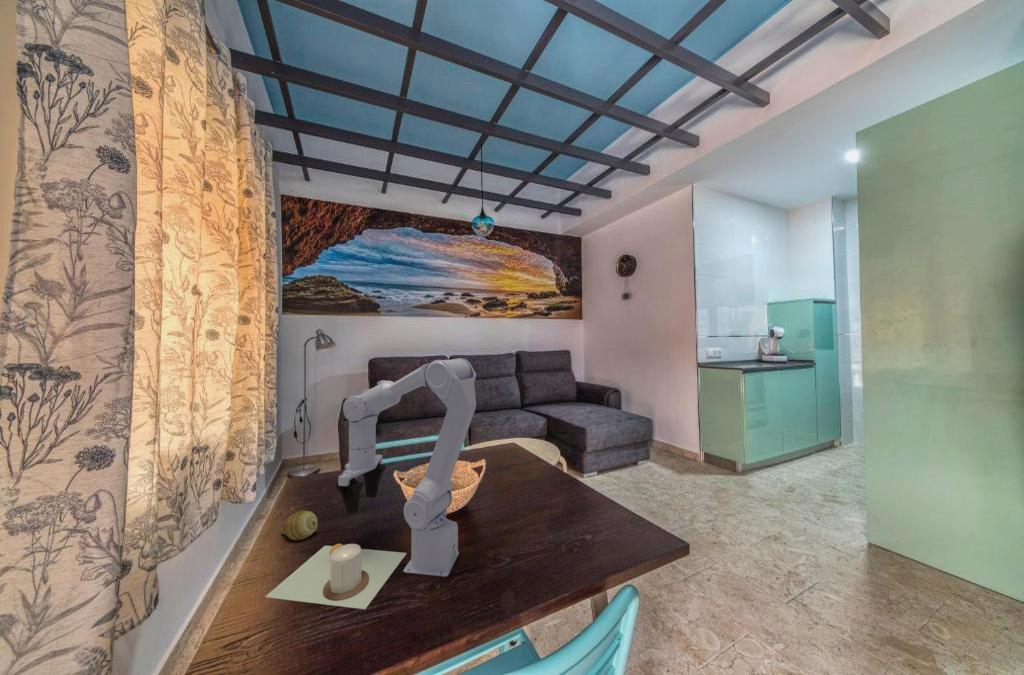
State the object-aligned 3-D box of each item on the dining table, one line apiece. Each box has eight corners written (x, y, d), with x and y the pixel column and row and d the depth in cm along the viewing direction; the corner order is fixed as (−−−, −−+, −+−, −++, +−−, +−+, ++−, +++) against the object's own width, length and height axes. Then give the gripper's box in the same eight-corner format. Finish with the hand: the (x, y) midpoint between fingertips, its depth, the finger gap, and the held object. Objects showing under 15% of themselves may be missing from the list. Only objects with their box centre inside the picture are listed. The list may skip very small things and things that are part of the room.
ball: (348, 555, 74) (348, 541, 74) (339, 563, 71) (339, 549, 71) (335, 553, 75) (335, 540, 75) (326, 562, 72) (326, 548, 72)
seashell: (285, 551, 83) (263, 538, 78) (298, 521, 89) (278, 507, 84) (321, 546, 82) (302, 532, 78) (332, 516, 88) (315, 501, 83)
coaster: (377, 572, 69) (377, 571, 69) (352, 602, 61) (352, 601, 61) (341, 569, 70) (341, 567, 70) (312, 598, 62) (312, 596, 62)
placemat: (406, 554, 75) (406, 553, 75) (365, 611, 59) (365, 609, 59) (325, 547, 78) (325, 545, 78) (264, 599, 62) (264, 596, 62)
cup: (365, 575, 67) (366, 544, 68) (349, 594, 62) (349, 561, 62) (342, 572, 68) (342, 542, 68) (324, 591, 63) (324, 558, 63)
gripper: (364, 436, 87) (364, 489, 87) (325, 455, 73) (325, 519, 72) (390, 437, 86) (390, 491, 86) (355, 456, 72) (355, 521, 71)
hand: (362, 504), depth 79 cm, fingers open, 7 cm apart
